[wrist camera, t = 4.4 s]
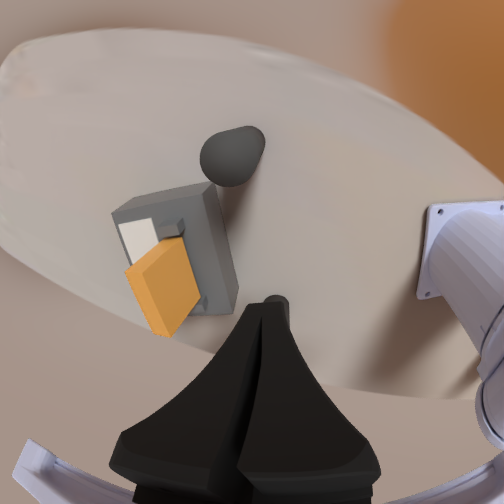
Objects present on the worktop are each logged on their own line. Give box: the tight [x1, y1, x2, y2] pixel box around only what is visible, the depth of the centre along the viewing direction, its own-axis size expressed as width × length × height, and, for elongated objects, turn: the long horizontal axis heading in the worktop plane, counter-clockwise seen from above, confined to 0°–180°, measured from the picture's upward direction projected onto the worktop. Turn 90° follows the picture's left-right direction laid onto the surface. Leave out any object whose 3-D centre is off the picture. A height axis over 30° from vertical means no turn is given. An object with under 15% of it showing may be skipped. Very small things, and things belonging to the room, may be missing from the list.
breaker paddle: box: [125, 237, 201, 338], centre depth 14 cm, size 1×4×4 cm, turn 10°
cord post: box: [200, 126, 265, 187], centre depth 12 cm, size 2×2×7 cm
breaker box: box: [111, 181, 239, 316], centre depth 17 cm, size 6×8×4 cm
